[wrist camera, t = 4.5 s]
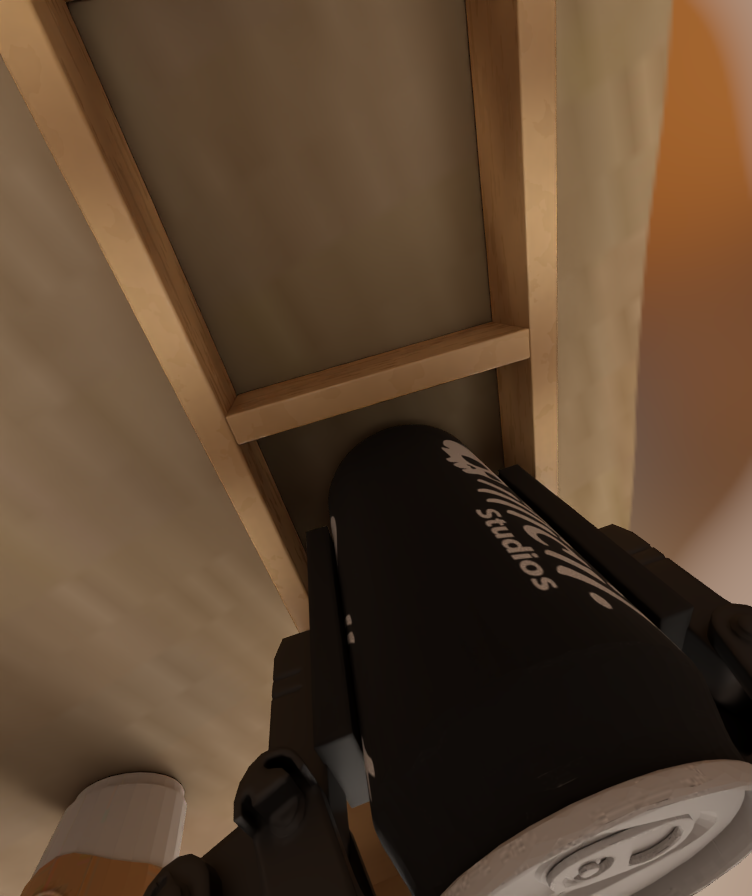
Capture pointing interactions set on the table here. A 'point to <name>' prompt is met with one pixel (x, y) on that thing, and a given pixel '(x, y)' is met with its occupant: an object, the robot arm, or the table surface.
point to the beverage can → (518, 695)
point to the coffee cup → (113, 838)
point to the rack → (359, 382)
